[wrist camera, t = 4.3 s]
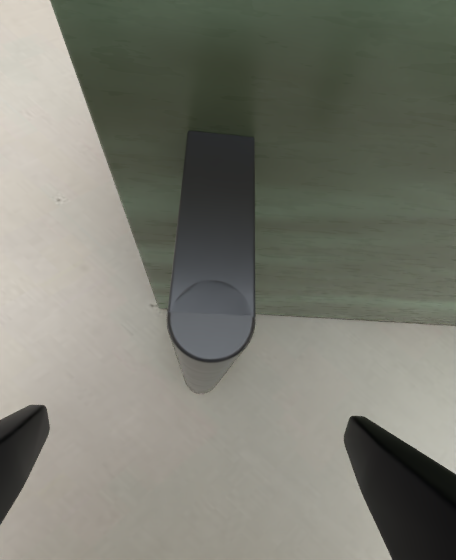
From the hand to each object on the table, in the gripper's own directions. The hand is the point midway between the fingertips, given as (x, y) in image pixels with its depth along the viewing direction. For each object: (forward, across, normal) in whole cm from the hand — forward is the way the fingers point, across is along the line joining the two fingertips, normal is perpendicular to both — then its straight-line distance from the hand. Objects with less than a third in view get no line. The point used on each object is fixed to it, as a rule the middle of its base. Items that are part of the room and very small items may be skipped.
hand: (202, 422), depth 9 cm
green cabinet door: (+10, +10, -4) cm, 14 cm away
